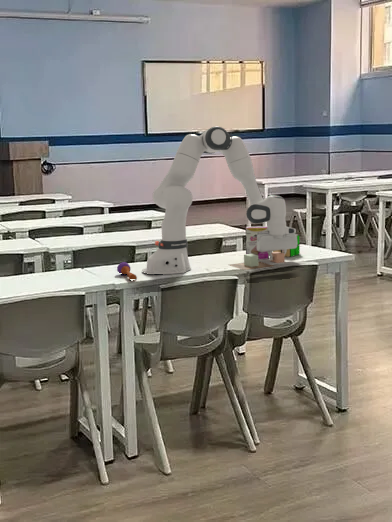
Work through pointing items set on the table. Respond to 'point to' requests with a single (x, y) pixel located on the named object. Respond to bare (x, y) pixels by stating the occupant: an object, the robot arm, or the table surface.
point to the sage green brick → (250, 260)
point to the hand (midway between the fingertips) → (277, 259)
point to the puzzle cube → (292, 250)
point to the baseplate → (244, 267)
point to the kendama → (126, 270)
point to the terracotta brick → (278, 257)
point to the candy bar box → (255, 241)
